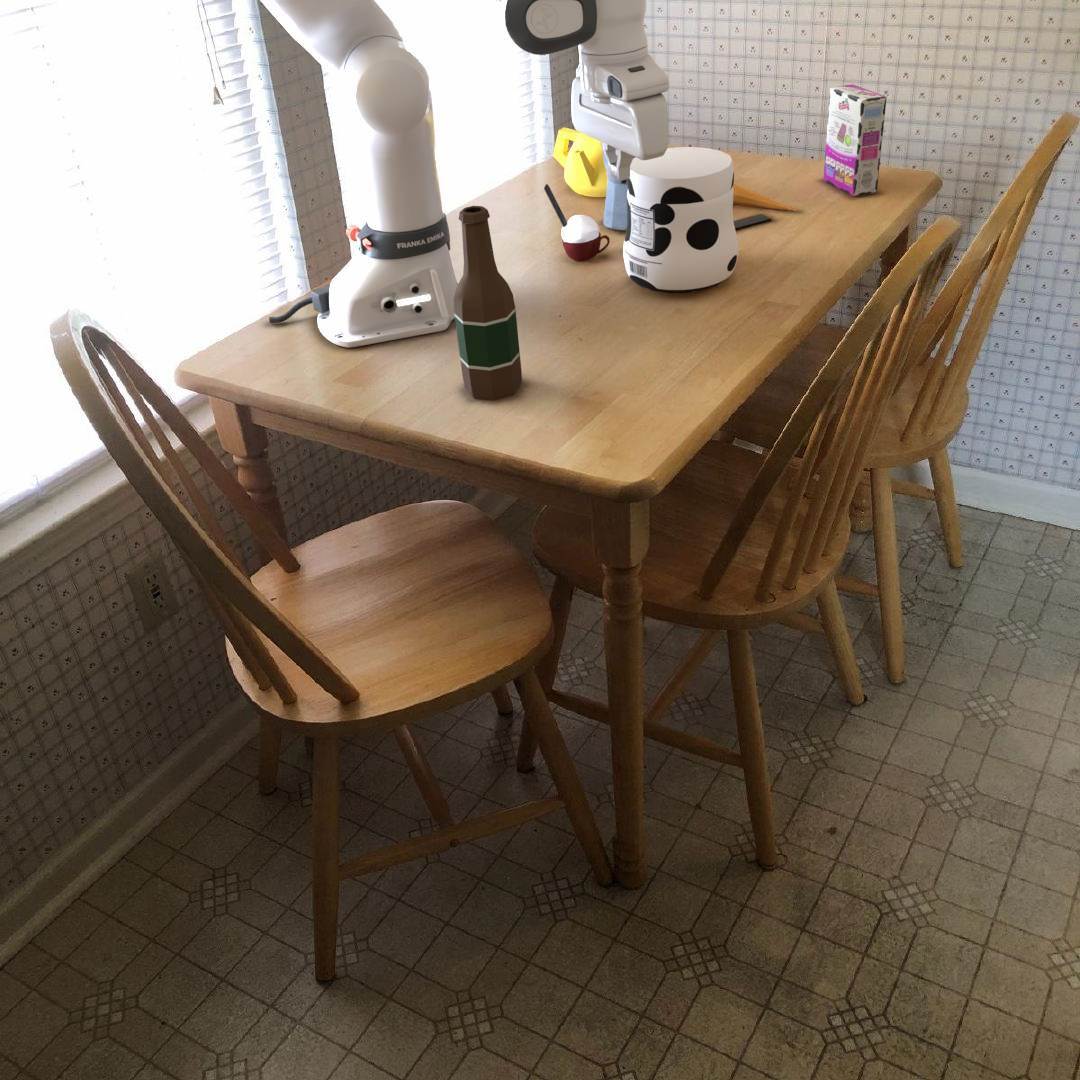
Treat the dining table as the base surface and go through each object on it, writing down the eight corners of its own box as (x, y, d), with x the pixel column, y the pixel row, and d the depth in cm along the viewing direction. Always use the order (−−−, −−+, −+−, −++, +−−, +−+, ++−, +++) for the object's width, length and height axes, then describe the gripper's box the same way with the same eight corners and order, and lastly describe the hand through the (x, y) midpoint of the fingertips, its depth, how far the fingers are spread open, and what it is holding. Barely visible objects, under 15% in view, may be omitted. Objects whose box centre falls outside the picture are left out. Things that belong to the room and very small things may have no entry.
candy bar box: (879, 193, 197) (888, 96, 188) (853, 198, 196) (862, 100, 187) (846, 175, 206) (853, 82, 197) (821, 180, 205) (828, 86, 196)
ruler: (639, 255, 182) (639, 253, 182) (630, 250, 184) (630, 247, 184) (771, 220, 190) (771, 218, 190) (761, 216, 193) (761, 213, 192)
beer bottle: (522, 372, 151) (505, 195, 137) (523, 399, 145) (505, 217, 131) (465, 377, 151) (442, 201, 137) (463, 404, 145) (439, 223, 131)
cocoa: (614, 254, 183) (611, 181, 176) (594, 268, 179) (590, 194, 172) (566, 246, 188) (561, 175, 181) (545, 259, 184) (539, 186, 177)
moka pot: (658, 208, 200) (656, 91, 188) (656, 239, 187) (654, 116, 176) (604, 210, 201) (599, 94, 189) (599, 242, 188) (594, 119, 177)
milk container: (744, 260, 177) (747, 144, 167) (729, 305, 164) (731, 182, 153) (636, 257, 181) (633, 144, 171) (613, 300, 168) (608, 181, 158)
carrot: (691, 202, 203) (688, 182, 199) (703, 186, 204) (701, 166, 201) (791, 229, 194) (790, 209, 190) (803, 211, 195) (803, 191, 192)
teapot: (662, 192, 206) (661, 126, 200) (574, 206, 204) (570, 139, 197) (634, 167, 220) (633, 104, 213) (552, 180, 217) (548, 116, 211)
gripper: (556, 62, 152) (564, 164, 160) (632, 89, 137) (636, 201, 145) (597, 53, 154) (603, 155, 162) (676, 79, 139) (678, 190, 147)
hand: (619, 177), depth 153 cm, fingers closed
